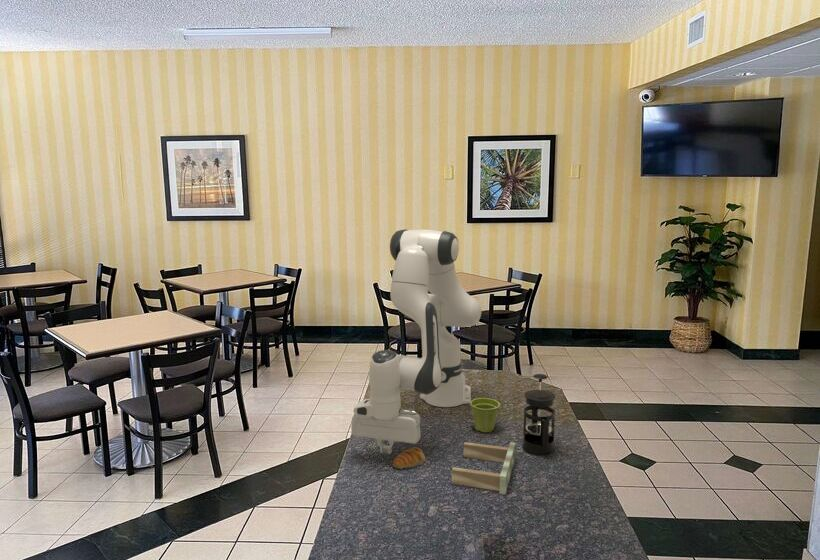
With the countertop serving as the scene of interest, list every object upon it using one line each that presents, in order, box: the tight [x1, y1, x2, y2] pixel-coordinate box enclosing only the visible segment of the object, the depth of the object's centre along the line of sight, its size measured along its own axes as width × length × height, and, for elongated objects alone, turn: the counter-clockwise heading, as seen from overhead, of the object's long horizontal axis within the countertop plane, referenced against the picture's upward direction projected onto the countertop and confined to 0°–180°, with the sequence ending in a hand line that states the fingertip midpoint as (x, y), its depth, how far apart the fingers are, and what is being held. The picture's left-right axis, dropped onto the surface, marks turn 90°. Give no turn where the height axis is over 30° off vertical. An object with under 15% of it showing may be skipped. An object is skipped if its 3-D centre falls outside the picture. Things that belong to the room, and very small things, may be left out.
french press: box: [522, 373, 556, 457], centre depth 175 cm, size 12×9×23 cm
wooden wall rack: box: [451, 441, 516, 495], centre depth 164 cm, size 20×14×5 cm
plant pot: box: [469, 397, 501, 433], centre depth 191 cm, size 9×9×9 cm
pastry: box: [392, 446, 426, 470], centre depth 170 cm, size 9×7×4 cm
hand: (386, 452), depth 172 cm, fingers closed
